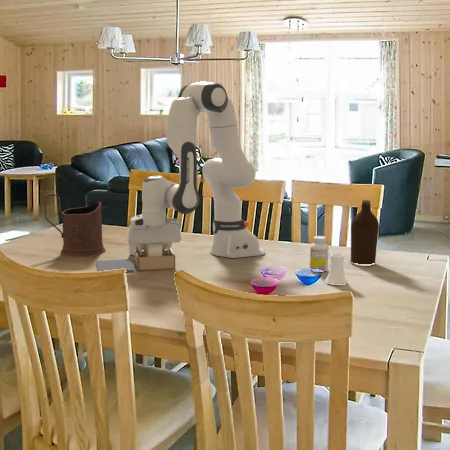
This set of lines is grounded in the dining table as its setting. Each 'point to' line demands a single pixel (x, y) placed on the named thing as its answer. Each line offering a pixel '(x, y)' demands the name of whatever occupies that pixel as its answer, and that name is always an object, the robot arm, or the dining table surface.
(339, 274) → the salt shaker
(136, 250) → the carton
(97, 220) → the brown pitcher
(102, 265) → the rubber mat
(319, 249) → the supplement bottle
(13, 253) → the dining table surface
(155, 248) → the cream box
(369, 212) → the olive oil
